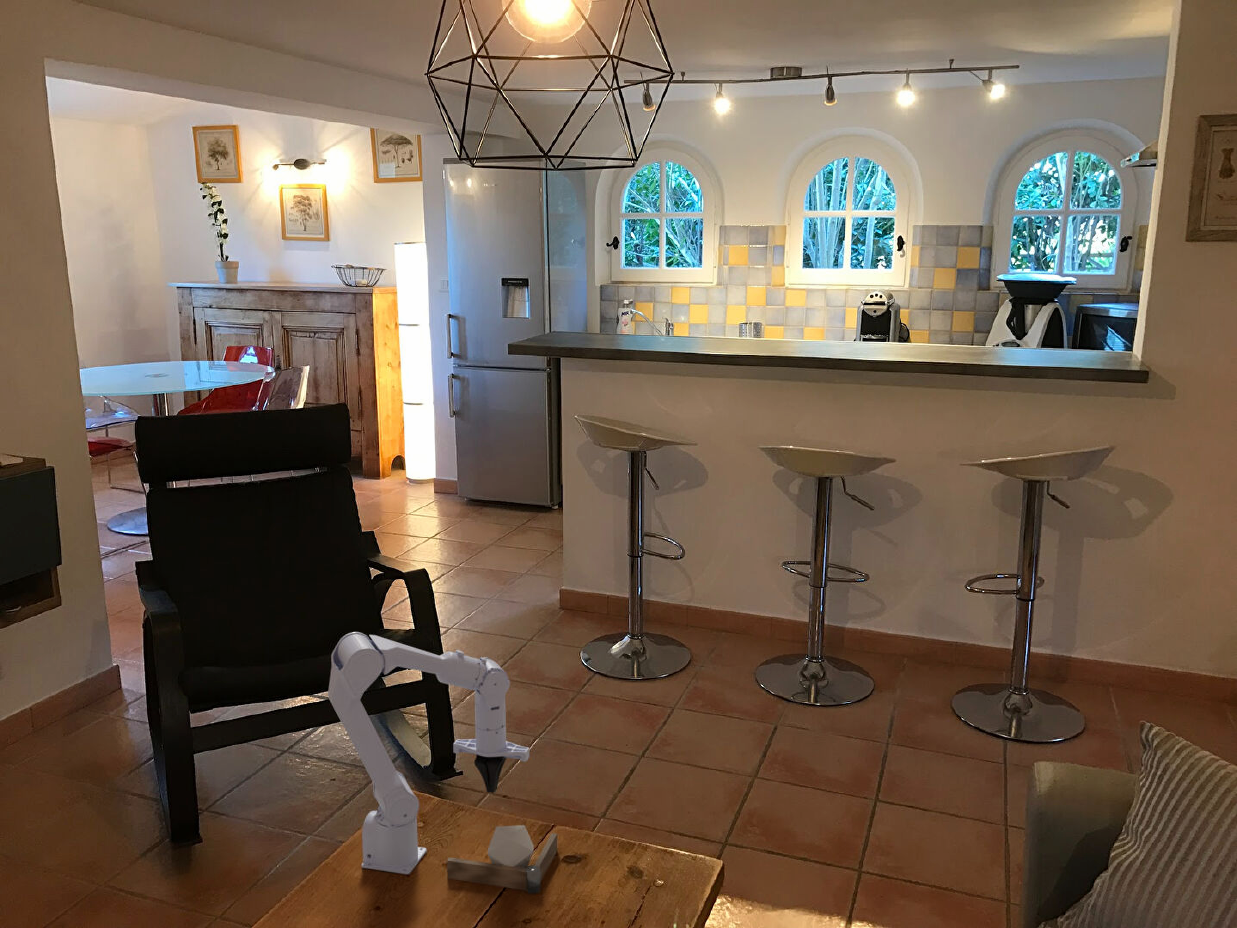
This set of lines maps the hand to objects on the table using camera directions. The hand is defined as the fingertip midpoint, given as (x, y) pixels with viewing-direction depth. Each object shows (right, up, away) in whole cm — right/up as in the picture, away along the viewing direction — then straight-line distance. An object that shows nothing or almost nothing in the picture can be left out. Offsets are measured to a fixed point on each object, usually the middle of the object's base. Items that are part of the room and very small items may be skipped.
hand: (492, 790), depth 191 cm
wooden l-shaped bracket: (+3, -11, -8) cm, 14 cm away
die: (+5, -12, -9) cm, 15 cm away
